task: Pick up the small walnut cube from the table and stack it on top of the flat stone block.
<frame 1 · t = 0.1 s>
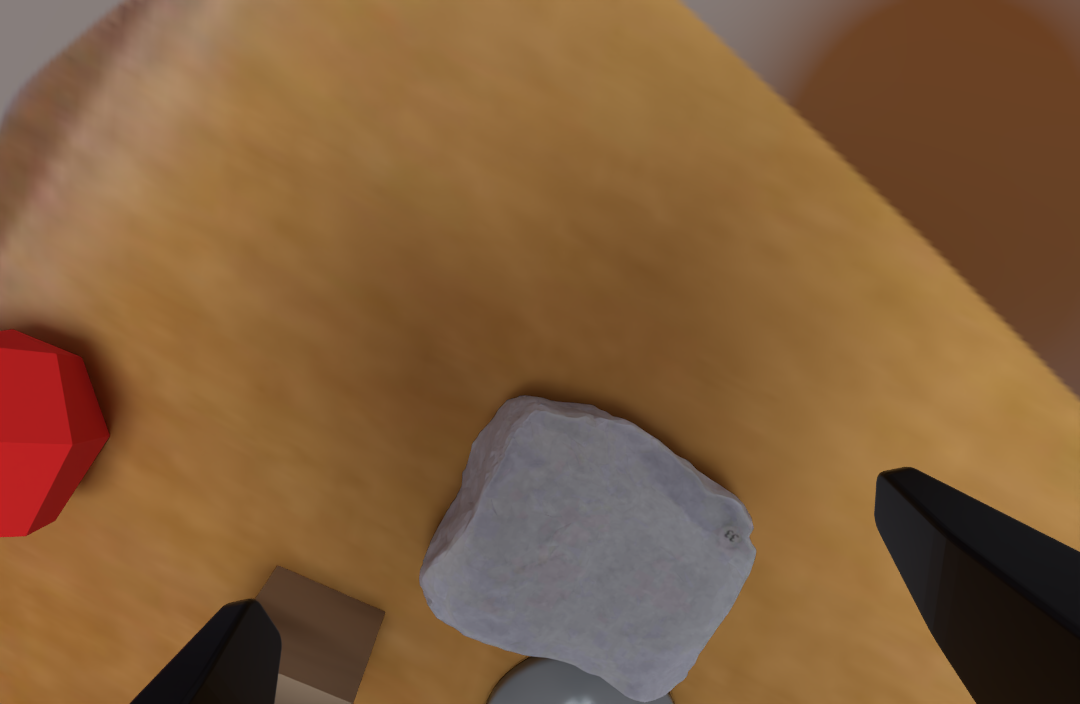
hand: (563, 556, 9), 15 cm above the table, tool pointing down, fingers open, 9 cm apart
stone block: (591, 512, 27), on the table
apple: (55, 406, 25), on the table
walnut cube: (310, 630, 28), on the table
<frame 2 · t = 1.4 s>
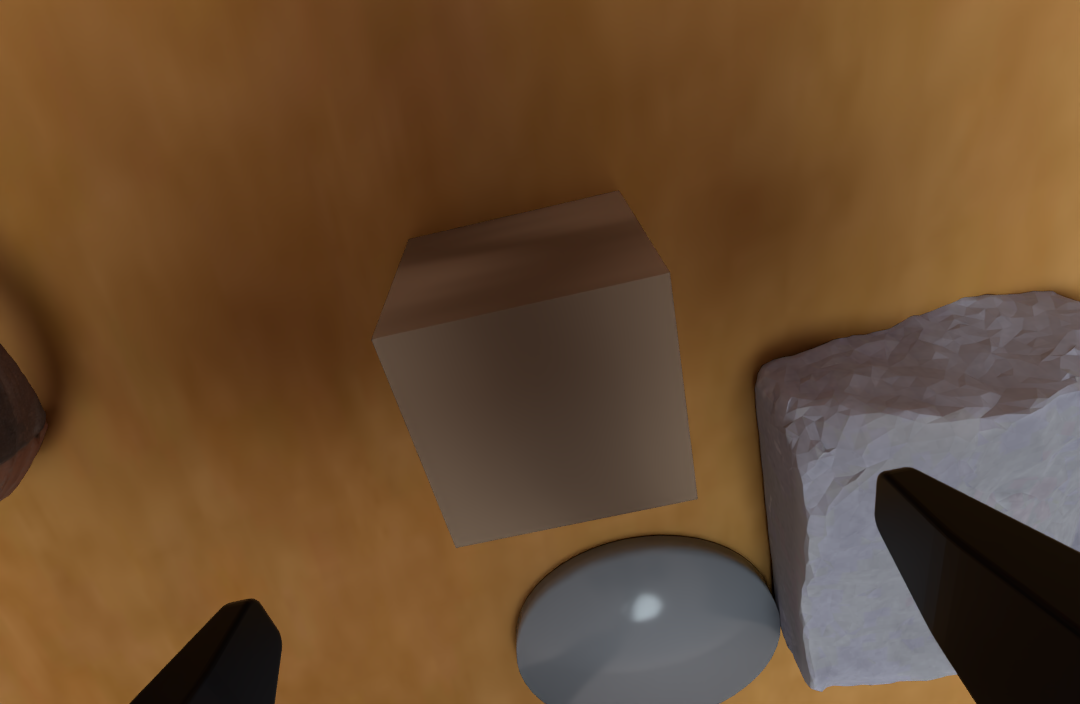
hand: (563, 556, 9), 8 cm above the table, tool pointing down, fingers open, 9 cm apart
stone block: (909, 463, 20), on the table, touching slate coaster
slate coaster: (644, 628, 22), on the table
walnut cube: (536, 308, 16), on the table
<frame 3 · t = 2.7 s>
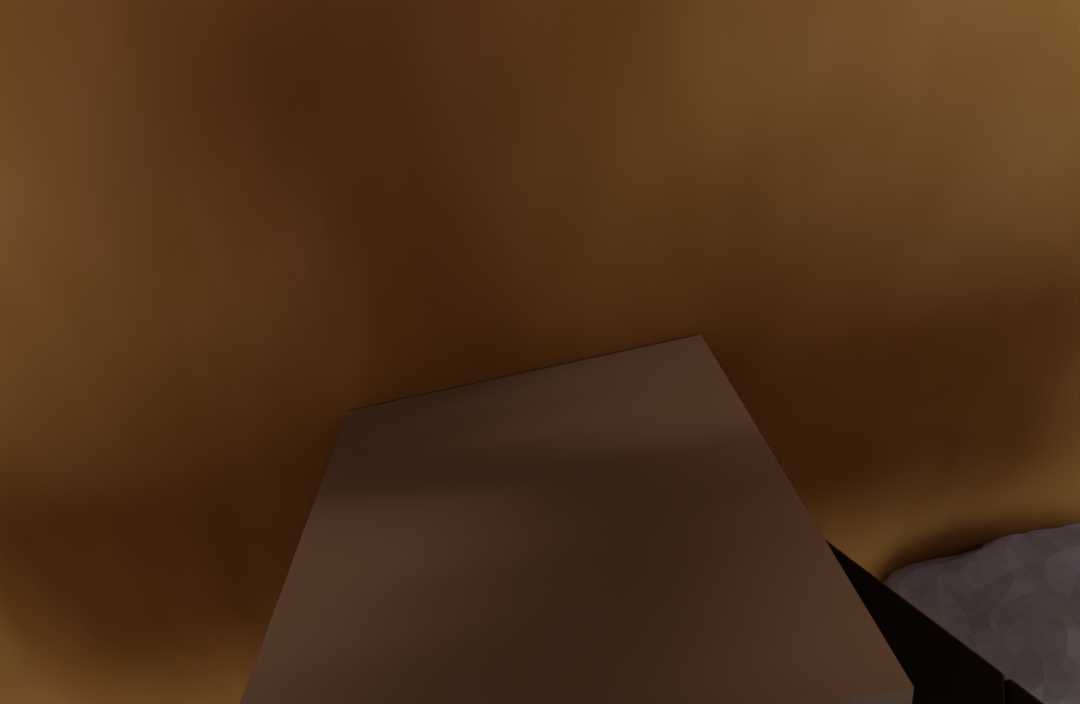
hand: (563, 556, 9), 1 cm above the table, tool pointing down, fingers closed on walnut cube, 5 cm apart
walnut cube: (557, 505, 10), on the table, touching gripper
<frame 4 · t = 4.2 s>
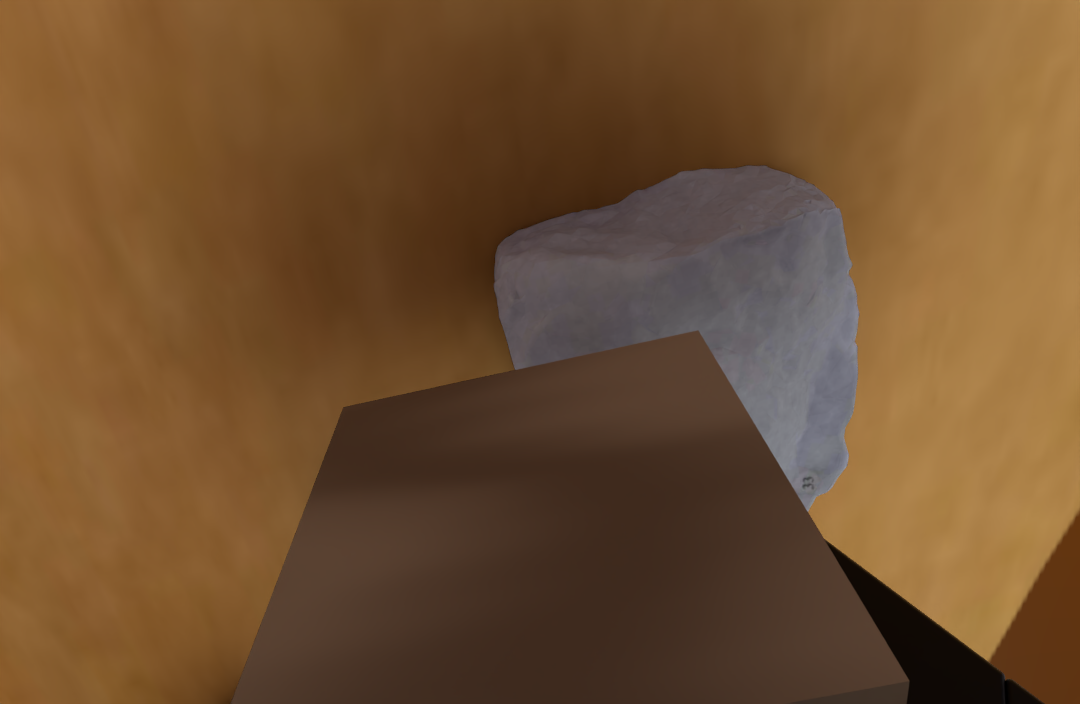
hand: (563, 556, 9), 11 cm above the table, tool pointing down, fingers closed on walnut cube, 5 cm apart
stone block: (677, 349, 21), on the table
walnut cube: (554, 502, 10), point 10 cm above the table, touching gripper
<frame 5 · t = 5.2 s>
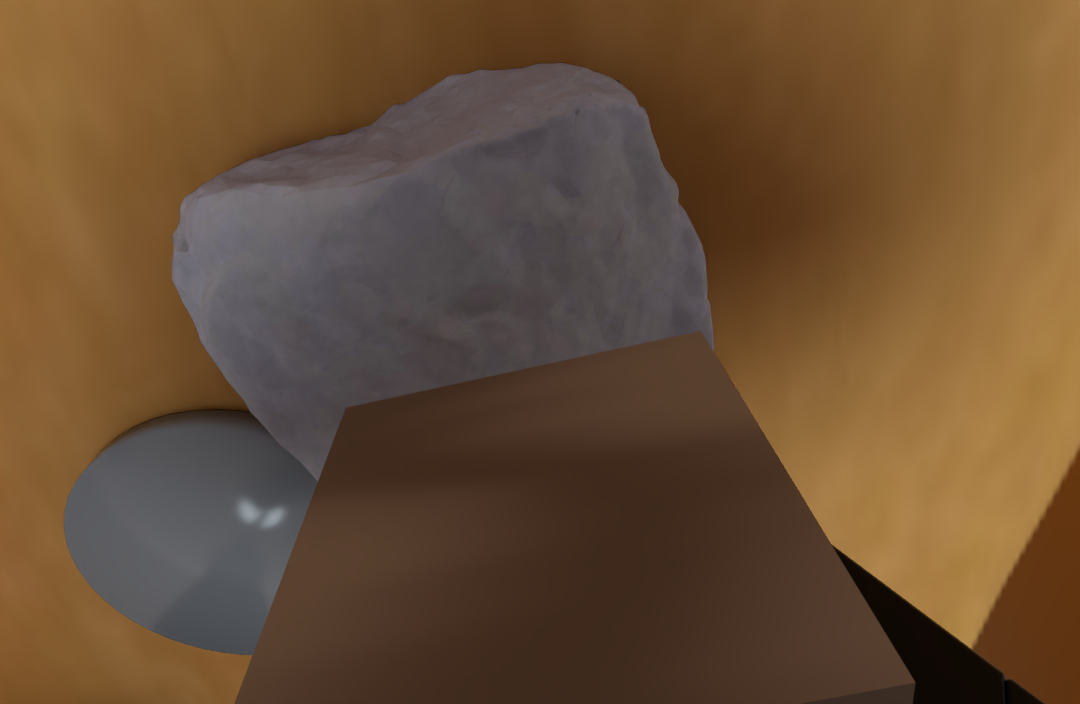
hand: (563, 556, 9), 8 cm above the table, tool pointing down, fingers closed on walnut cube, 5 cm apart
stone block: (502, 322, 16), on the table
slate coaster: (246, 534, 19), on the table
walnut cube: (556, 502, 10), point 7 cm above the table, touching gripper
when the fingers open (6 cm above the table, at t = 5.8 s): walnut cube drops 2 cm, resting on stone block.
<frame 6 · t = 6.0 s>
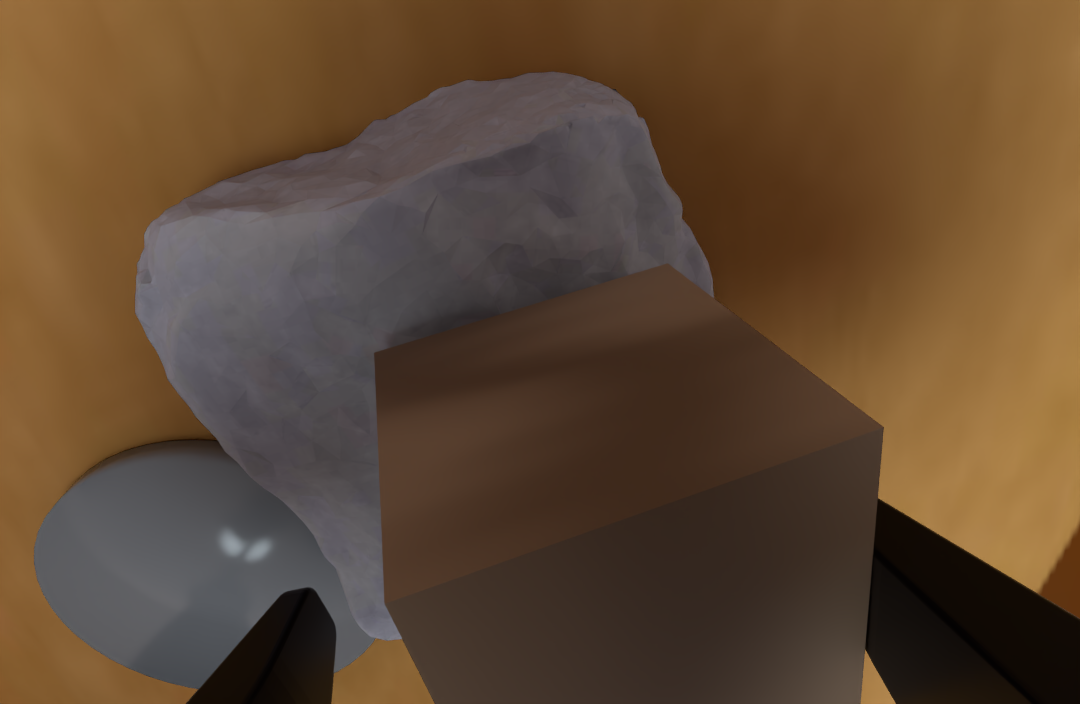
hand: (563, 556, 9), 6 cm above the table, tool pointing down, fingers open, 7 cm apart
stone block: (497, 344, 15), on the table, touching walnut cube
slate coaster: (230, 568, 18), on the table
walnut cube: (554, 427, 11), point 4 cm above the table, tilted 11°, touching stone block
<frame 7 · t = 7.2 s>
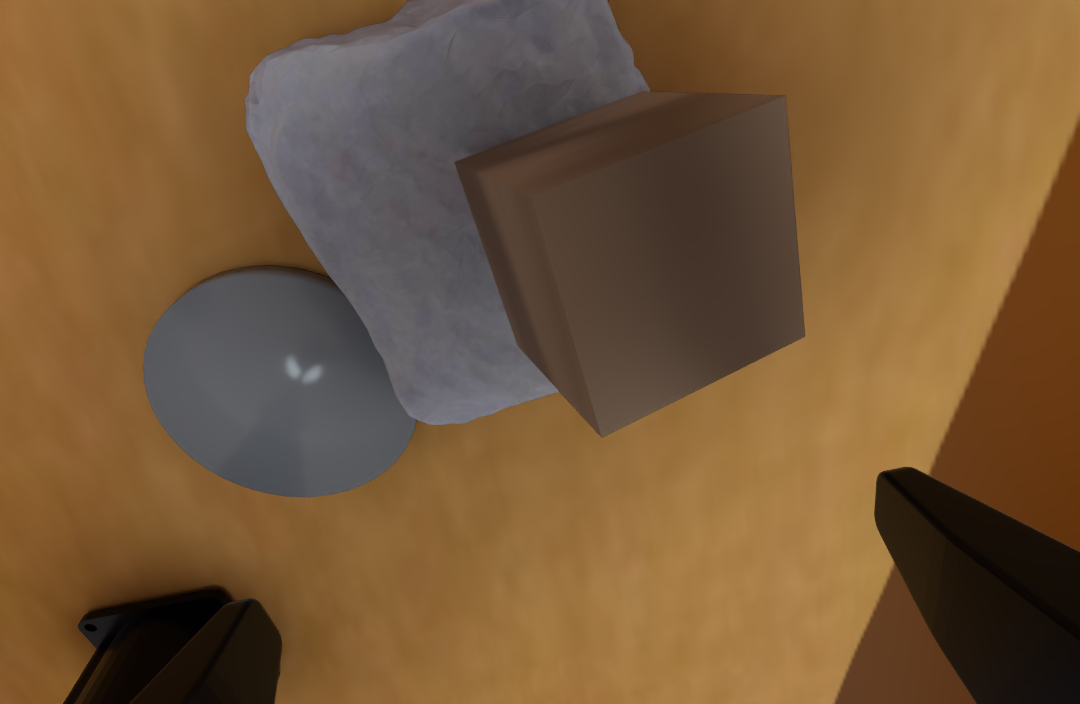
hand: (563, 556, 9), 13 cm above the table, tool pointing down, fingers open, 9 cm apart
stone block: (502, 193, 20), on the table
slate coaster: (291, 385, 22), on the table
walnut cube: (577, 224, 16), point 4 cm above the table, tilted 19°
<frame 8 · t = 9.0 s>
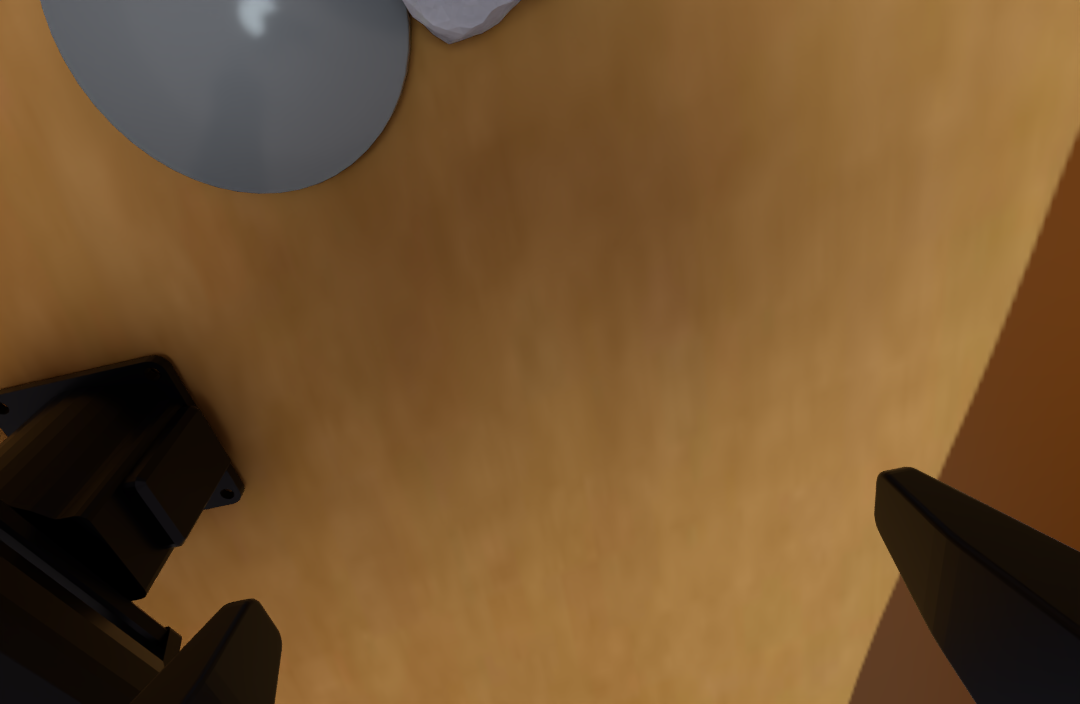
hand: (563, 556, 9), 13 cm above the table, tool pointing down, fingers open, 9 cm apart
slate coaster: (239, 17, 17), on the table
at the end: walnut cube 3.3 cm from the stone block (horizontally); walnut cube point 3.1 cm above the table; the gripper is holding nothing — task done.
